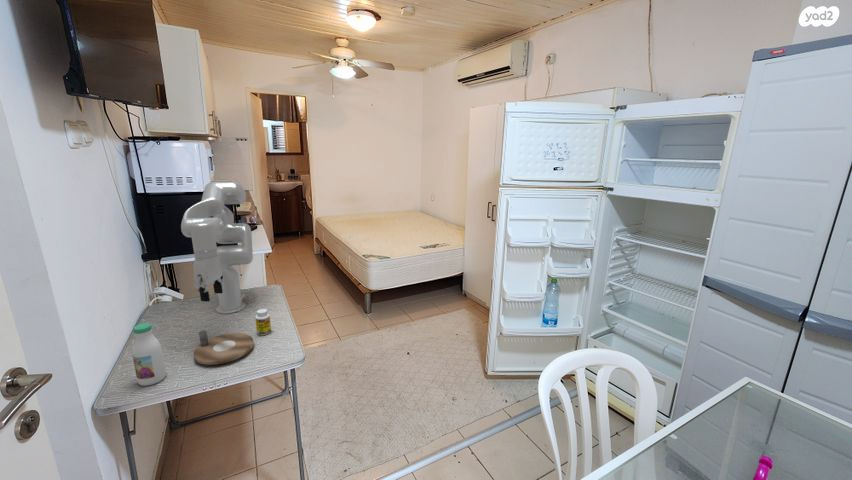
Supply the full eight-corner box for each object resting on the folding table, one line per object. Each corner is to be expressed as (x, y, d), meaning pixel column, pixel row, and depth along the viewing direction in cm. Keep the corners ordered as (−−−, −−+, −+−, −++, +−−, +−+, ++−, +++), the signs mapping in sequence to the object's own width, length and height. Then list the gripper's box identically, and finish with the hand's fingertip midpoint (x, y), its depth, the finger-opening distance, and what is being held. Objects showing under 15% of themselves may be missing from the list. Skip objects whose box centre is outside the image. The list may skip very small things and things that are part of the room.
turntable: (216, 334, 146) (214, 319, 144) (263, 337, 145) (261, 322, 143) (180, 362, 127) (177, 345, 125) (234, 366, 125) (231, 348, 124)
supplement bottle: (258, 337, 147) (255, 314, 145) (256, 331, 152) (253, 309, 149) (272, 333, 150) (270, 311, 148) (270, 328, 155) (267, 306, 152)
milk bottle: (157, 370, 124) (147, 318, 119) (171, 375, 122) (162, 322, 117) (132, 383, 117) (121, 328, 113) (147, 389, 115) (136, 333, 110)
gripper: (211, 247, 143) (217, 288, 147) (179, 260, 126) (187, 306, 130) (229, 248, 142) (234, 289, 147) (199, 261, 125) (206, 307, 130)
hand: (212, 296), depth 138 cm, fingers open, 7 cm apart
